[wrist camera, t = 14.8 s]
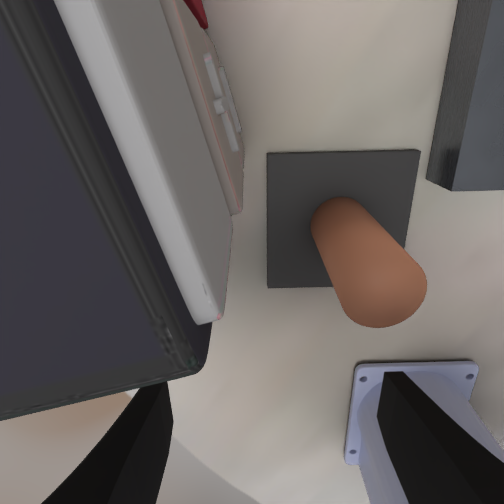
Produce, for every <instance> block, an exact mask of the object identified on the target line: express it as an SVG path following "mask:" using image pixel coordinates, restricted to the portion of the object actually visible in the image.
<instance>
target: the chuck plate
mask: <svg viewBox="0 0 504 504" xmlns="http://www.w3.org/2000/svg"><path fill="white" fill-rule="evenodd" d="M426 179H427V180H429V181H431V182H433V183H435V184H437V185H439V186H441V187H443V188H446V189H448V190H450V191H486V190H504V0H459V1H458V7H457V12H456V18H455V23H454V29H453V34H452V40H451V45H450V51H449V56H448V61H447V67H446V72H445V78H444V83H443V89H442V94H441V100H440V105H439V110H438V116H437V121H436V127H435V132H434V138H433V143H432V149H431V154H430V159H429V165H428V170H427V176H426Z"/></svg>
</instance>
